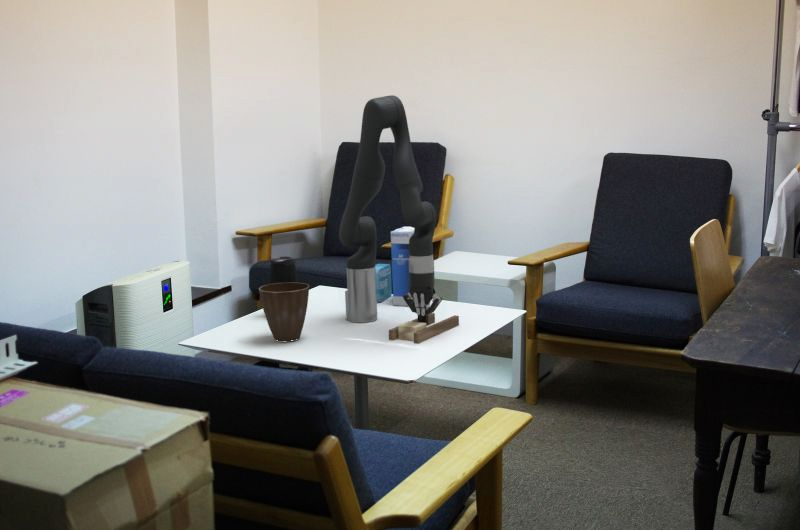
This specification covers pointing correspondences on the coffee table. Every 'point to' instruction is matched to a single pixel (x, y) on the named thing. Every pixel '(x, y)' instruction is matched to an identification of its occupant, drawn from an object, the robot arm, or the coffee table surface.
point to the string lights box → (400, 263)
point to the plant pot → (285, 308)
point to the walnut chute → (429, 328)
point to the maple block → (409, 329)
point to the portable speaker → (282, 270)
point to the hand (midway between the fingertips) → (423, 326)
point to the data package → (383, 282)
